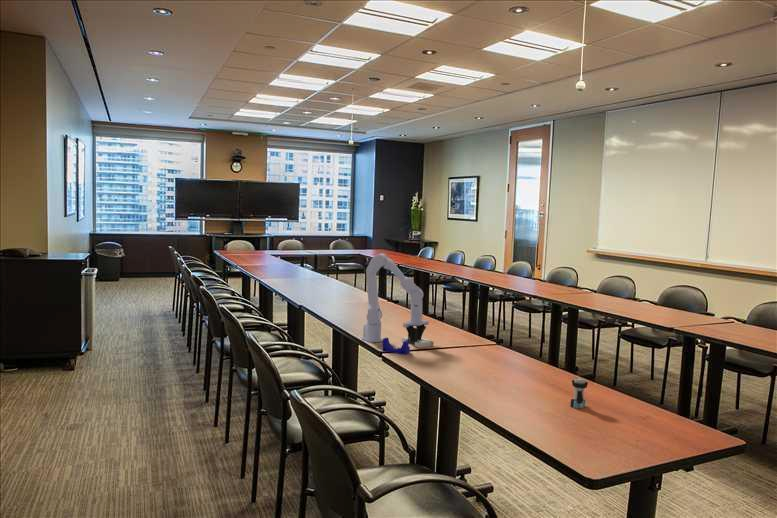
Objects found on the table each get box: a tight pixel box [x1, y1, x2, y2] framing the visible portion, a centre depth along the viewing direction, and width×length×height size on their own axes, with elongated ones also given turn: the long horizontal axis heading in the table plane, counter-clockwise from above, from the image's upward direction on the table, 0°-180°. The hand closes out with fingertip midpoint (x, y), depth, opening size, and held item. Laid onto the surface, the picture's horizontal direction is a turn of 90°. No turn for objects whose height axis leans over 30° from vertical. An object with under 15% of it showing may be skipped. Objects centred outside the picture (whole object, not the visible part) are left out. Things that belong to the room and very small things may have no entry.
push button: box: [570, 377, 589, 409], centre depth 193 cm, size 7×5×10 cm
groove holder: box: [401, 336, 434, 349], centre depth 276 cm, size 14×9×2 cm, turn 35°
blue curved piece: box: [381, 337, 411, 356], centre depth 258 cm, size 12×4×6 cm, turn 64°
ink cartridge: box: [407, 327, 418, 346], centre depth 274 cm, size 5×2×8 cm, turn 38°
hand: (415, 340), depth 275 cm, fingers open, 4 cm apart
